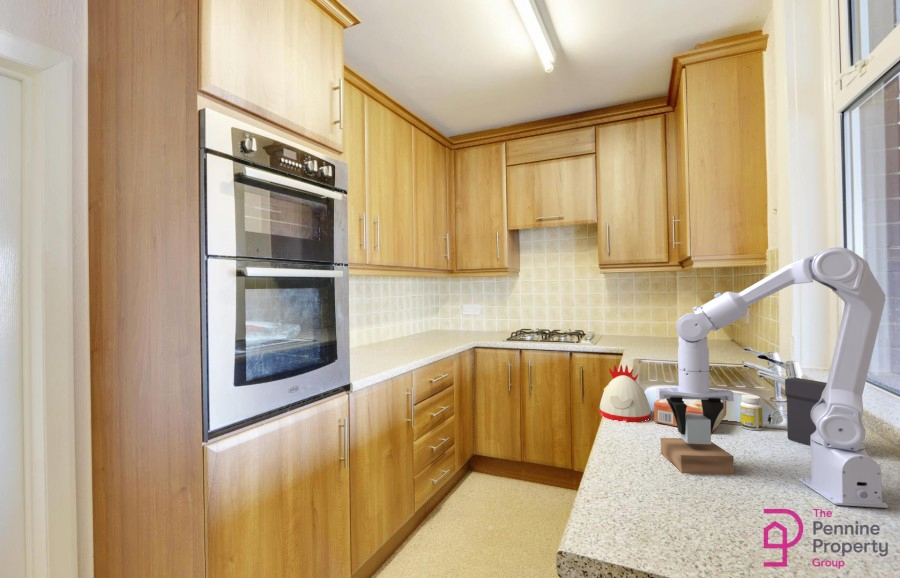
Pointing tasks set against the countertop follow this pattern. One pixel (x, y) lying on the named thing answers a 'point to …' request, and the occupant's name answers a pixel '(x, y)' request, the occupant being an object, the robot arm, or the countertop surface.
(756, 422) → the supplement bottle
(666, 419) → the cracker box
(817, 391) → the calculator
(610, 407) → the kitchen timer
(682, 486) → the countertop surface
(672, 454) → the walnut block
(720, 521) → the countertop surface
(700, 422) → the slate block
